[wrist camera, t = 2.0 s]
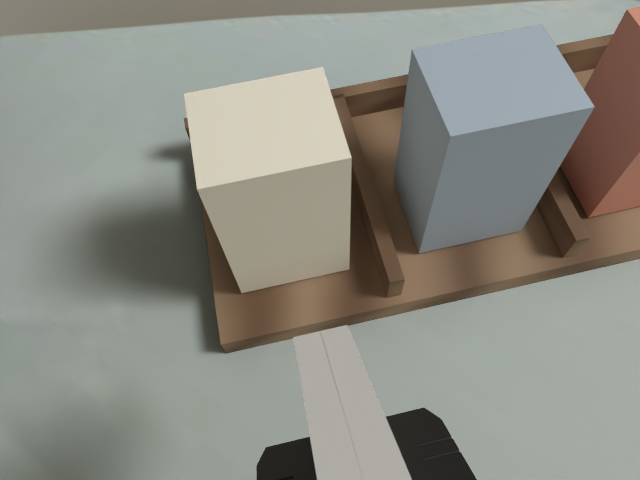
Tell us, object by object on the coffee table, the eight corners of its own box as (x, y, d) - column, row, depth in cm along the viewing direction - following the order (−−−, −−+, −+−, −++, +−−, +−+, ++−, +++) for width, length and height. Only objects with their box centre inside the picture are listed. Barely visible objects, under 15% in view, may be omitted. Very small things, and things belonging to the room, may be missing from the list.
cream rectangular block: (241, 293, 29) (197, 189, 20) (228, 216, 31) (183, 93, 22) (349, 269, 29) (351, 157, 20) (328, 195, 32) (322, 66, 23)
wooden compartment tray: (226, 353, 29) (212, 332, 26) (197, 153, 36) (184, 118, 33) (716, 240, 31) (757, 209, 28) (603, 72, 38) (626, 31, 35)
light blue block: (418, 253, 30) (450, 136, 21) (393, 181, 32) (411, 49, 23) (521, 230, 30) (594, 106, 21) (488, 161, 32) (542, 24, 24)
